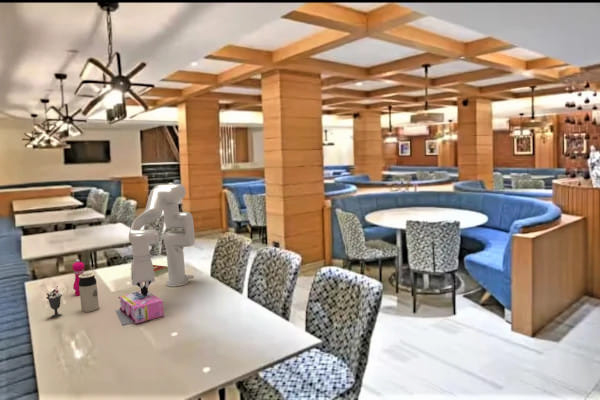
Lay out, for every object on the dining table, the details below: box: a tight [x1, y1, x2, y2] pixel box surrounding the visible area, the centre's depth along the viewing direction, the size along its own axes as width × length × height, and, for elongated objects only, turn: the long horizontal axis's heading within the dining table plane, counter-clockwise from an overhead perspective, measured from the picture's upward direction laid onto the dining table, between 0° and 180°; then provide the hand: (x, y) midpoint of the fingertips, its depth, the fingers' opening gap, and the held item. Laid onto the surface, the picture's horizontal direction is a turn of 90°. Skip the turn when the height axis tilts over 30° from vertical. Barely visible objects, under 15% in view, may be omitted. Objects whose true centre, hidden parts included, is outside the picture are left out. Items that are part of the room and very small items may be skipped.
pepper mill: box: [72, 259, 85, 297], centre depth 245 cm, size 7×7×20 cm
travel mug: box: [79, 272, 100, 313], centre depth 220 cm, size 8×8×18 cm
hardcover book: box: [129, 264, 168, 278], centre depth 283 cm, size 12×21×4 cm, turn 65°
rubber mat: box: [115, 308, 135, 326], centre depth 213 cm, size 16×22×1 cm
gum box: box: [118, 290, 165, 325], centre depth 212 cm, size 24×8×14 cm
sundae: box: [46, 287, 63, 319], centre depth 213 cm, size 7×7×15 cm
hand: (144, 295), depth 214 cm, fingers closed
